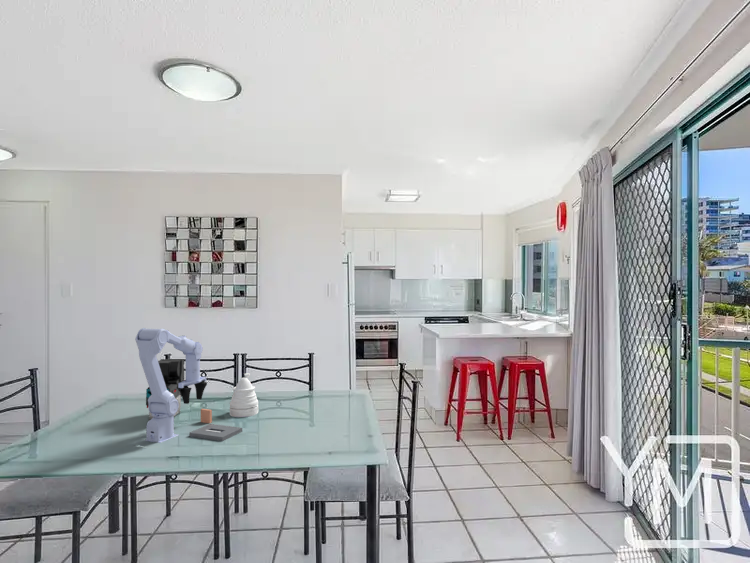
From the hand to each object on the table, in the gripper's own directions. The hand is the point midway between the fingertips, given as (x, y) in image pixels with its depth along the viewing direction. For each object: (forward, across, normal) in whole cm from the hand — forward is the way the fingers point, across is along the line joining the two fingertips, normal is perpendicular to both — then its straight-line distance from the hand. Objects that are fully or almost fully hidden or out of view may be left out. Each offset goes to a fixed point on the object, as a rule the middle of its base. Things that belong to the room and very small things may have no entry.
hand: (192, 401), depth 198 cm
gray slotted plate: (+10, -8, -19) cm, 23 cm away
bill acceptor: (+10, +4, +19) cm, 22 cm away
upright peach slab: (+10, +3, -4) cm, 11 cm away
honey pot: (+10, +22, -10) cm, 26 cm away
